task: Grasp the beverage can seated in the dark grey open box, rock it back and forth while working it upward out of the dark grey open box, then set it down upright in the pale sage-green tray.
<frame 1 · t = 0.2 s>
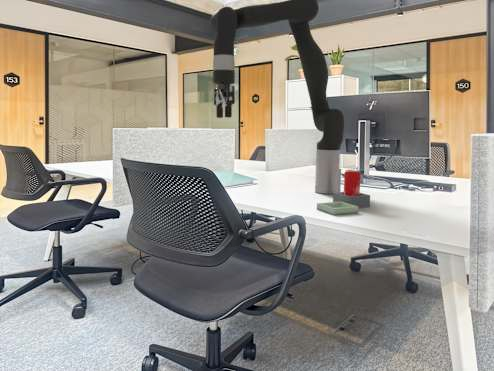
hand: (223, 117, 144), 29 cm above the table, fingers open, 8 cm apart
beverage can: (350, 206, 139), resting in dark grey open box
dark grey open box: (350, 205, 139), on the table
tray: (337, 211, 130), on the table
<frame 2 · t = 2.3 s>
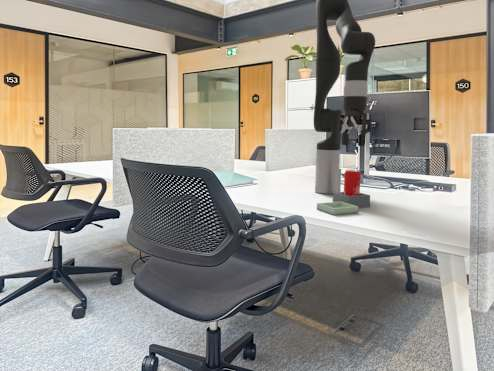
hand: (352, 145, 136), 20 cm above the table, fingers open, 8 cm apart
nothing on the table moved.
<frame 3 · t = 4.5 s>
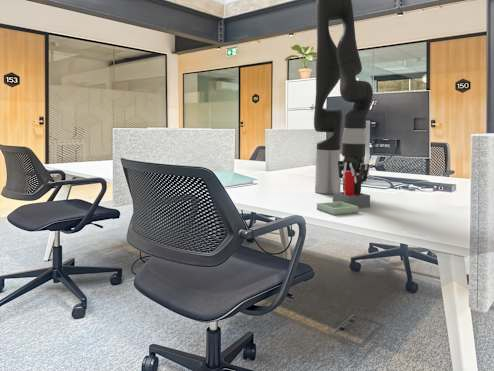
hand: (351, 192, 139), 4 cm above the table, fingers closed on beverage can, 5 cm apart
beverage can: (350, 206, 139), resting in dark grey open box, touching gripper
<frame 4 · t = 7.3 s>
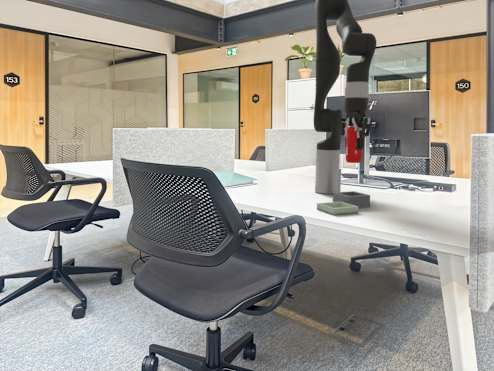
hand: (353, 148, 137), 19 cm above the table, fingers closed on beverage can, 5 cm apart
beverage can: (353, 162, 137), point 14 cm above the table, touching gripper
when the fingers open (6 cm above the table, at t = 10.5 s): beverage can drops 1 cm, resting on tray.
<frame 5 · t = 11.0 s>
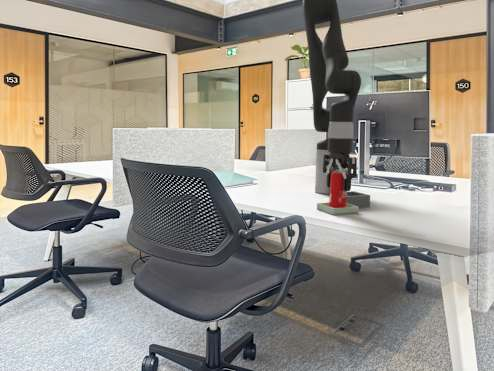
hand: (338, 188, 129), 7 cm above the table, fingers open, 8 cm apart
beverage can: (337, 210, 130), resting on tray
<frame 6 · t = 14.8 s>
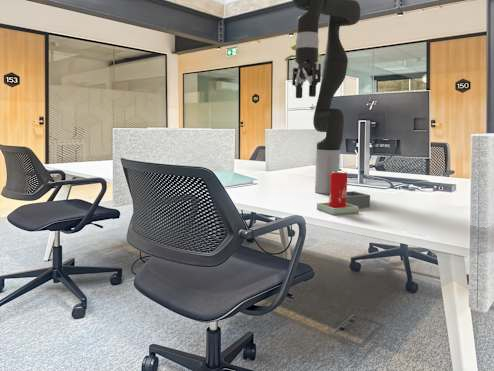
hand: (305, 97, 140), 36 cm above the table, fingers open, 8 cm apart
nothing on the table moved.
at the end: beverage can 0.1 cm from the tray (horizontally); beverage can touching tray; beverage can tilted 0° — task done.
